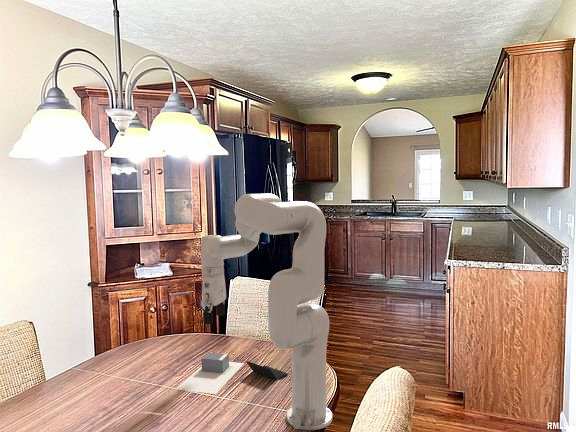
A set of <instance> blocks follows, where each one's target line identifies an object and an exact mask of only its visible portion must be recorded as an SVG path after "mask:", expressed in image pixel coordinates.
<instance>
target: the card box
mask: <svg viewBox="0 0 576 432" xmlns="http://www.w3.org/2000/svg"><path fill="white" fill-rule="evenodd" d="M229 362H230V353H217V352H207V353H205V355H204V356H202V357H201V362H200V363H201V366H202V371H206V372H216V373H224V372H225V371H226V370H227V369H228V368H229Z"/></svg>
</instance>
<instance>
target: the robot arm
mask: <svg viewBox="0 0 576 432" xmlns="http://www.w3.org/2000/svg"><path fill="white" fill-rule="evenodd" d="M234 215H235V218H236V219H235V222H234V224H235V228H236V231H237V232H238V234H231V235H225V236H224V235H223V236H221V235H220V234H208V235H203V236H202V237H201V238H200V253H201V254H200V256H201V258H200V259H201V277H202V285H201V290H202V291H201V295H202V296H201V298H202V299H201V301H200V306H201V310H202V311H201V312H202V317H203V324H204V325H212V324H214V320H213V318H214V317H213V314H214V313H213V312H212V311H213V307H215V316H217V317H218V316H219V317H220V316H221V317H224V316H225V315H226V313H225V311H226V310H225V309H226V308H225V306H226V305H225V304H226V301H225V300H226V299H227V288H226V279H225V268H224V267H225V266H224V265H225V263H224V260H227V259H231V258H233V259H234V258H239V257H243V256H246V255H247V254H249V253H250V252H251V251H253V250H254V249H255V248H256V247H257V246H258V244H259V241H260V235H261V234H262V233H264V234H265V235H266V234H267V235H274V236H275V235H276V236H277V235H283V234H284V235H285V234H293V233H298V237H297V239H296V240H295V241H294V245H293V249H292V266H291V268H288V269H283V270H280V271H278V272H276V273H275V274H274V275H273V276H272V277H271V279H270V280H269V285H268V295H267V296H268V297H267V298H268V299H267V300H268V301H267V303H268V304H267V305H268V306H267V307H268V309H267V311H268V314H267V315H268V320H267V322H268V334H269V337H270V339H271V342H272V344H273V345H274V346H275V347H276V348H277V349H280V350H282V351H283V350H289V349H292V350H291V361H290V362H291V364H290V365H291V366H290V368H291V407H290V408H289V409H288V410H287V412H286V421H287V422H288V424H289V425H291V426H292V427H293V428H294V429H295V430H302V431H315V430H316V431H318V430H321V429H324V428H326V427H328V426H329V425H330V424H331V423H332V421H333V412H332V411H331V410H330V408H328V405H327V404H328V403H327V395H328V394H327V344H328V338H329V331H330V318H329V315H328V314H329V313H328V312H327V310H326V309H325V308H324V307H322V306H321V305H319V304H316V303H310V302H312V301H315V300H318V299H319V298H321V297H322V296H323V294H324V291H325V247H326V238H327V222H326V218H325V217H326V216H325V215H324V213H323V211H322V210H321V208H320V207H318V205H316V204H314V203H312V202H310V201H300V200H294V201H293V200H291V201H282V200H281V198H280V197H279V196H277V195H275V194H273V193H267V192H266V193H246V194H243V195H242V196H240V197H239V198H238V199H237V201H236V203H235V204H234ZM306 303H307V304H306ZM302 304H303V305H302Z"/></svg>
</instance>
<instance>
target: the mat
mask: <svg viewBox="0 0 576 432" xmlns="http://www.w3.org/2000/svg"><path fill="white" fill-rule="evenodd" d="M244 364H245V363H244V362H236V361H229V368H228V369H227V370H226V371H225V372H224V373H216V372H206V371H202V365H201V366H200V367H199V368H197V369H196V371H194V372H193V373H192V374H190V375H189V376H188V377H187V378H186V379H185V380H184V381H182V382H181V384H179V385H178V386H177V387H176V388H175V390H176V391H177V390H179V391H187V392H194V393H195V392H196V393H202V394H212V395H216V394H217V393H218V392H219V391H220V390H221V389H222V388H223V387H224V386H225V385H226V384H227V383H228V382H229V381H230V379H232V377H233V376H234V375H235V374H236V373H237V372H238V371H239V369H241V367H242V366H243V365H244Z"/></svg>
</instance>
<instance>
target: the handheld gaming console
mask: <svg viewBox="0 0 576 432" xmlns="http://www.w3.org/2000/svg"><path fill="white" fill-rule="evenodd" d="M245 363H246V364H247V365H248V367H249V368H250V369H251V371H252V372H253V373H255V374H258V375H261V376H263V377H267V378H269V379H271V380H274V381H280V380H282V379H284V378H285V377H287V376H288V372H285V371H283V370H279V369H276V368H273V367H270V366H267V365H259V364H258V363H257V364H256V363H254V362H251V361H248V360H246V362H245Z"/></svg>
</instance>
